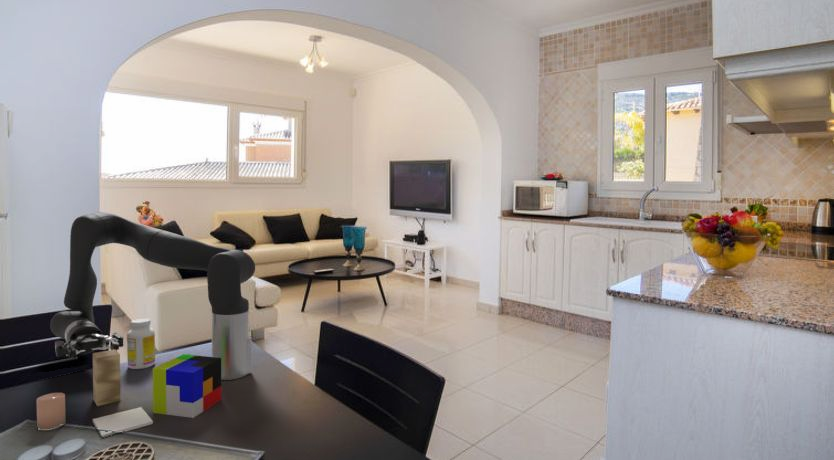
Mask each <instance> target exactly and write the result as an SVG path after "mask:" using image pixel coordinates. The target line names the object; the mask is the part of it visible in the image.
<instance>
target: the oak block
mask: <svg viewBox="0 0 834 460" xmlns="http://www.w3.org/2000/svg"><path fill="white" fill-rule="evenodd" d="M92 389H93V390H92V391H93V392H92V393H93V394H92V395H93V399H92V400H93V401H94V403H95V405H96V406H97V407H100V406H103V405H108V404H112V403H116V402H120V401H121V354H120V352H119V351H118V350H117V351H116V350H111V349H109V350H103V351H99V352H92Z"/></svg>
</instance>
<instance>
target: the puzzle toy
mask: <svg viewBox="0 0 834 460" xmlns="http://www.w3.org/2000/svg"><path fill="white" fill-rule="evenodd" d="M221 400H222V380H221V358H216V357H212V356H205V355H194V354H184V353H183V354H181V355H180V356H177V357H175V358H173V359H170V360H169V361H166V362H164V363H161V364H159V365H157V366H154V367H153V368H152V413H153V414H159V415H160V414H161V415H168V416H169V415H170V416H175V417H183V418H184V417H185V418H189V419H190V418H192V419H194V418H196V417H197V416H199V415H200V414H202V413H203V412H204V411H206V410H207V409H209V408H211V407H212V406H213V405H215V404H216V403H218V402H220V401H221Z"/></svg>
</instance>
